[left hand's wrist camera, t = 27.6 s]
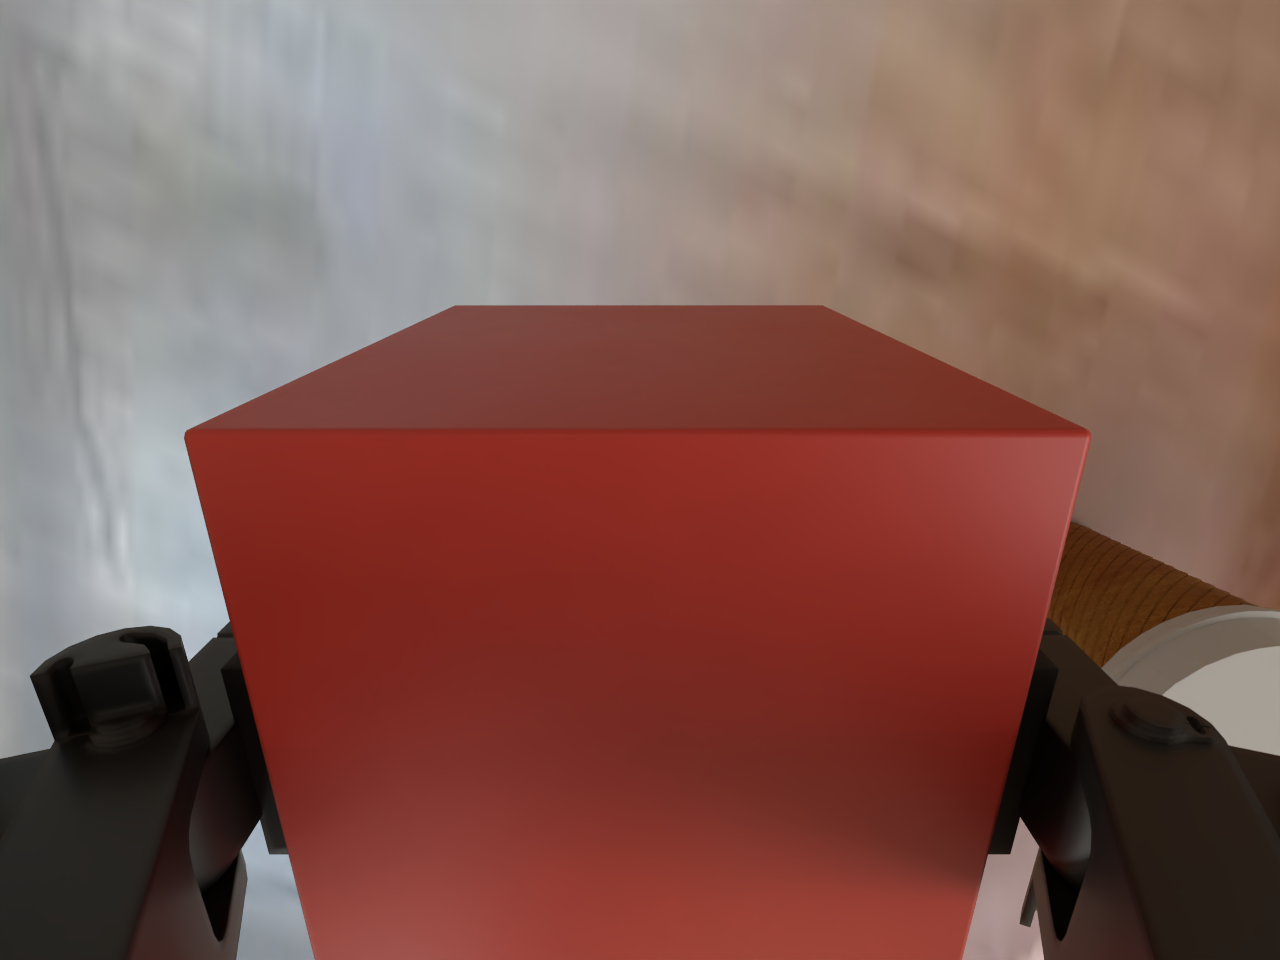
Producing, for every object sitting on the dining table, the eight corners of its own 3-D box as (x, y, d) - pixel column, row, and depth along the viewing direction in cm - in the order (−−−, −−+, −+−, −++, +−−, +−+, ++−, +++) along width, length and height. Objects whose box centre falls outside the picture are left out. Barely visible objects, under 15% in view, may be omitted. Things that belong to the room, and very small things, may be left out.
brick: (824, 304, 14) (1098, 430, 6) (791, 652, 17) (937, 1067, 9) (452, 304, 14) (177, 430, 6) (485, 653, 17) (338, 1067, 9)
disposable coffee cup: (1185, 561, 34) (1458, 729, 23) (1039, 688, 36) (1217, 895, 25) (1056, 452, 32) (1285, 578, 21) (911, 596, 34) (1043, 776, 23)
